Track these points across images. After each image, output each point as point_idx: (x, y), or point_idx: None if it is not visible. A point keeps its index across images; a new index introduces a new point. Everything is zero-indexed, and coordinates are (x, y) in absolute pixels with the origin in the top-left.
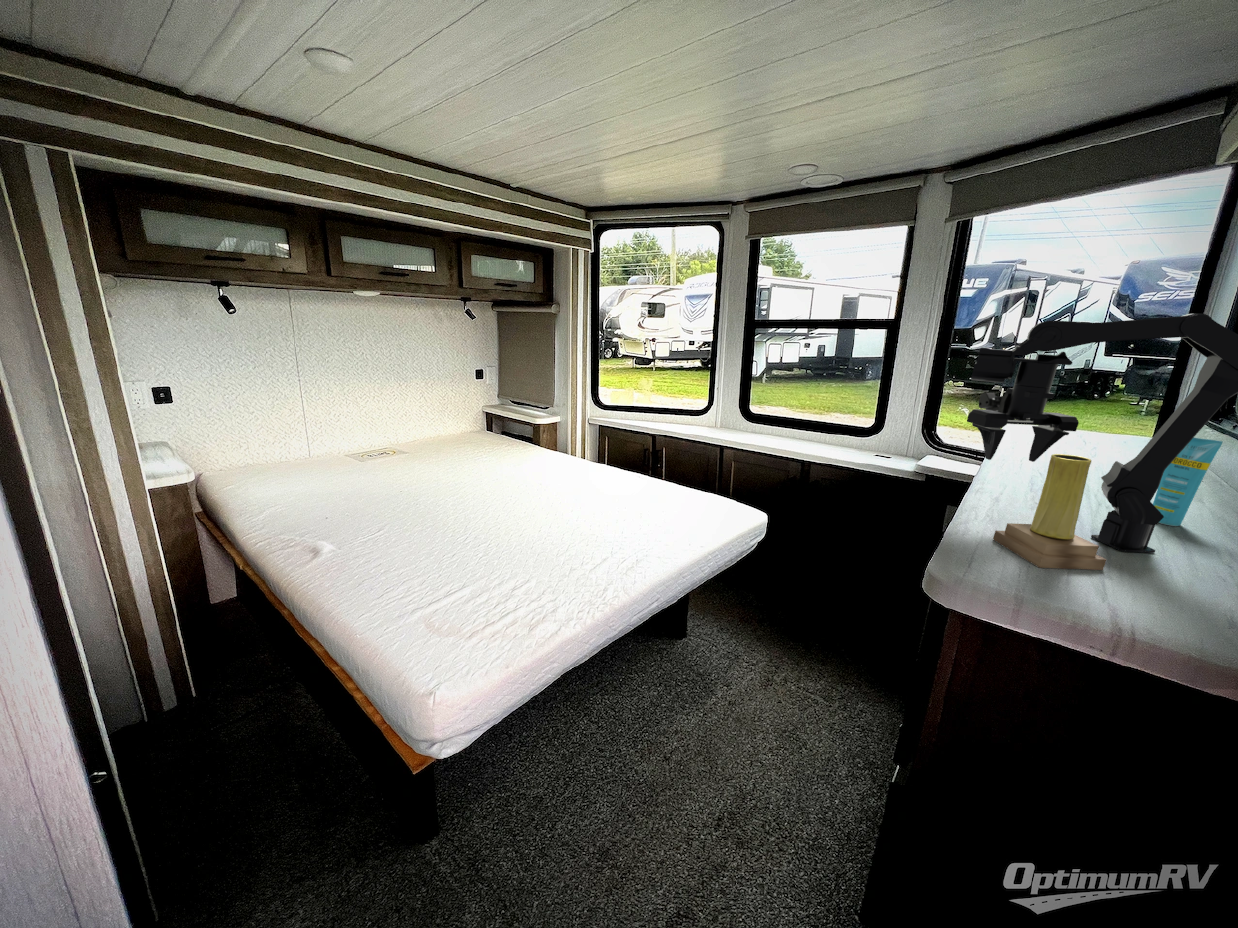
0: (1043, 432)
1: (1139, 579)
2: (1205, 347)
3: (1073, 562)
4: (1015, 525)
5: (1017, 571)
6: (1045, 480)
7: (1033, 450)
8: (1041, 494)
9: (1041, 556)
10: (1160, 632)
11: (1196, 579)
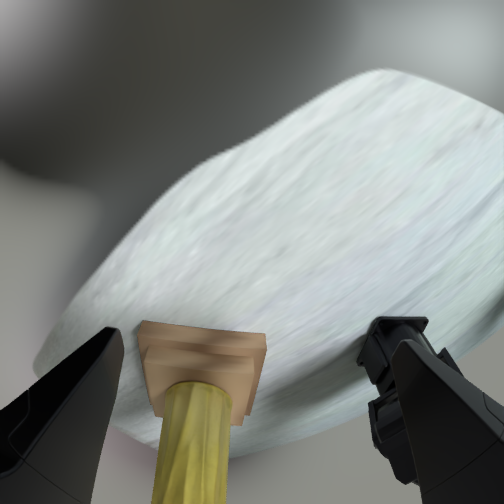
0: (478, 498)
1: (273, 414)
2: None
3: None
4: (155, 370)
5: None
6: (158, 484)
7: (426, 395)
8: (162, 453)
9: (151, 403)
10: None
11: (350, 408)
